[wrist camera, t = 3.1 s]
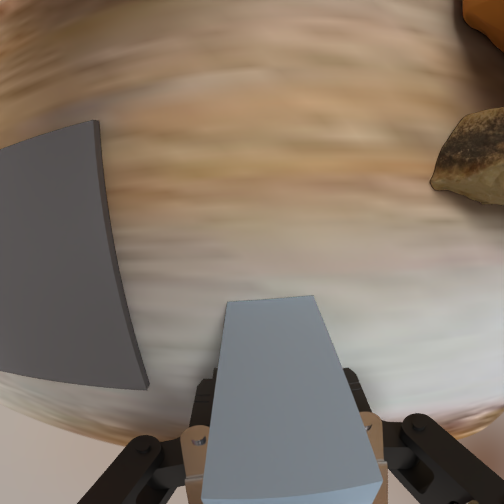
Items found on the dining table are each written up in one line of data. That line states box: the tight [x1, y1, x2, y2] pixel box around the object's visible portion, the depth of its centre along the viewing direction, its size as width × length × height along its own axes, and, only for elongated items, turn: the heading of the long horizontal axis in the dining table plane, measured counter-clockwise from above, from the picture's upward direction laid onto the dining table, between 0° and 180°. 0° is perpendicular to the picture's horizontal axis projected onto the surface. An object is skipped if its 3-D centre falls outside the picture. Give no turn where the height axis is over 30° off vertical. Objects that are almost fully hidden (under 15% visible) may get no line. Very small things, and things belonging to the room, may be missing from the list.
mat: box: [0, 120, 149, 390], centre depth 14 cm, size 14×16×1 cm
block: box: [201, 296, 383, 504], centre depth 11 cm, size 6×4×10 cm, turn 4°
